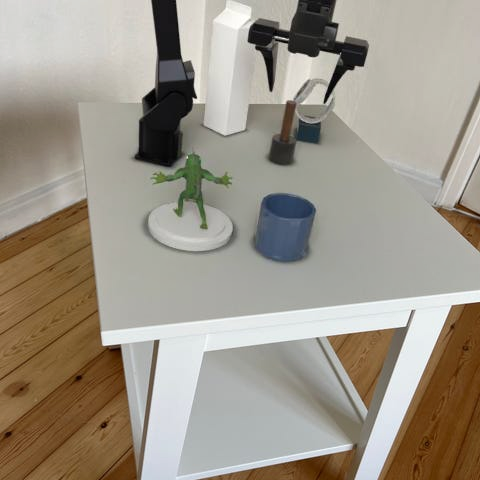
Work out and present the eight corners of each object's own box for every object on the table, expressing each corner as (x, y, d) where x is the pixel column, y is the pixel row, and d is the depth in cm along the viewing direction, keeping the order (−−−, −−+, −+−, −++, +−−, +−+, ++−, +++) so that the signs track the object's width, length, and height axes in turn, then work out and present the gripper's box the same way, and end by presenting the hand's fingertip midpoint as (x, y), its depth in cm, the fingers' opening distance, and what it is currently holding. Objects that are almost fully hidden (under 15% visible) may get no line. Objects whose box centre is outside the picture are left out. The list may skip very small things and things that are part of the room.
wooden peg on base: (266, 161, 100) (276, 103, 94) (271, 152, 104) (281, 95, 97) (290, 167, 100) (302, 108, 93) (293, 157, 103) (305, 100, 97)
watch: (287, 128, 114) (298, 72, 107) (325, 134, 114) (338, 79, 107) (286, 138, 110) (297, 81, 103) (326, 145, 110) (339, 88, 103)
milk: (224, 136, 107) (240, 8, 93) (202, 125, 109) (214, -1, 95) (245, 130, 111) (263, 6, 96) (223, 119, 113) (237, -3, 99)
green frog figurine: (225, 208, 85) (233, 144, 79) (238, 252, 76) (249, 183, 70) (146, 205, 83) (148, 138, 76) (150, 250, 74) (152, 179, 67)
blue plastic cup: (249, 254, 76) (256, 212, 72) (260, 228, 82) (267, 188, 78) (302, 266, 76) (312, 225, 72) (308, 239, 81) (318, 200, 77)
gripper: (247, -13, 78) (232, 99, 88) (378, 13, 76) (348, 125, 86) (262, -23, 86) (247, 80, 96) (380, 0, 85) (353, 103, 95)
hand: (297, 97), depth 93 cm, fingers open, 9 cm apart
